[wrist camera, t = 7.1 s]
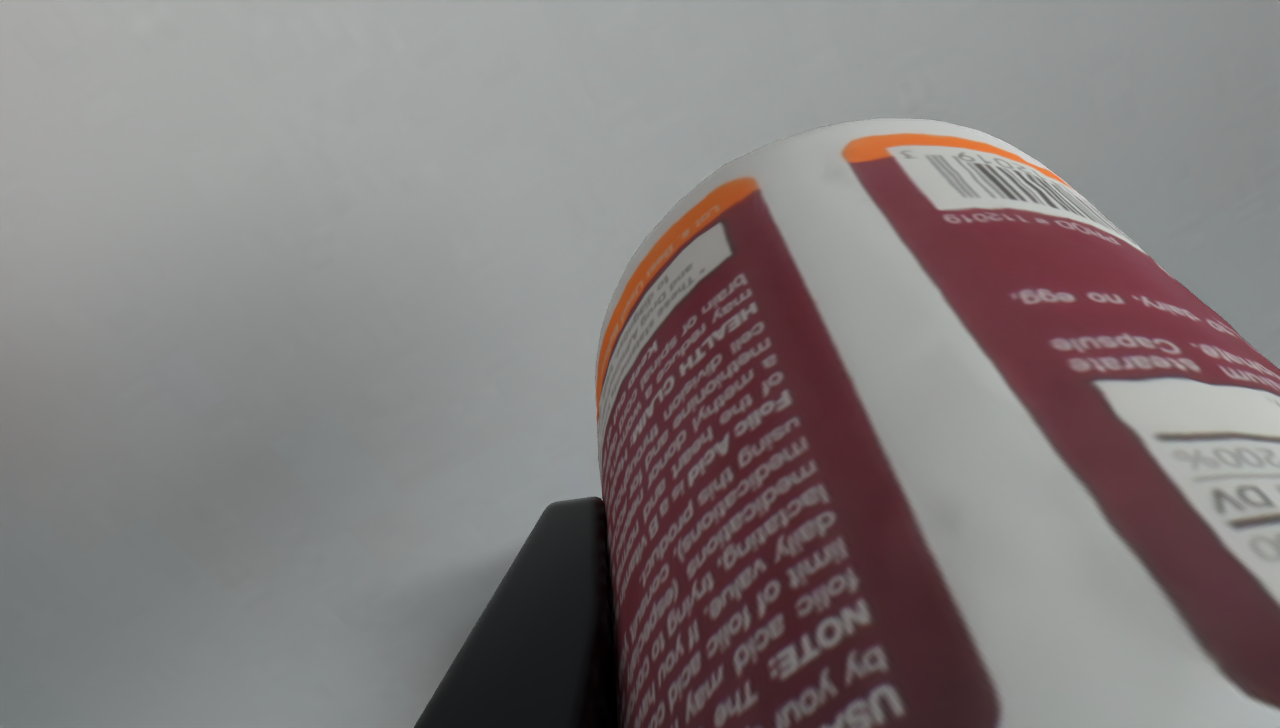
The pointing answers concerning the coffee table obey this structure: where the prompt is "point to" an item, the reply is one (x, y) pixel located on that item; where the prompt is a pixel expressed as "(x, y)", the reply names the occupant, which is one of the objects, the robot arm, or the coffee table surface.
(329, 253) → the coffee table surface
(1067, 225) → the pill bottle
